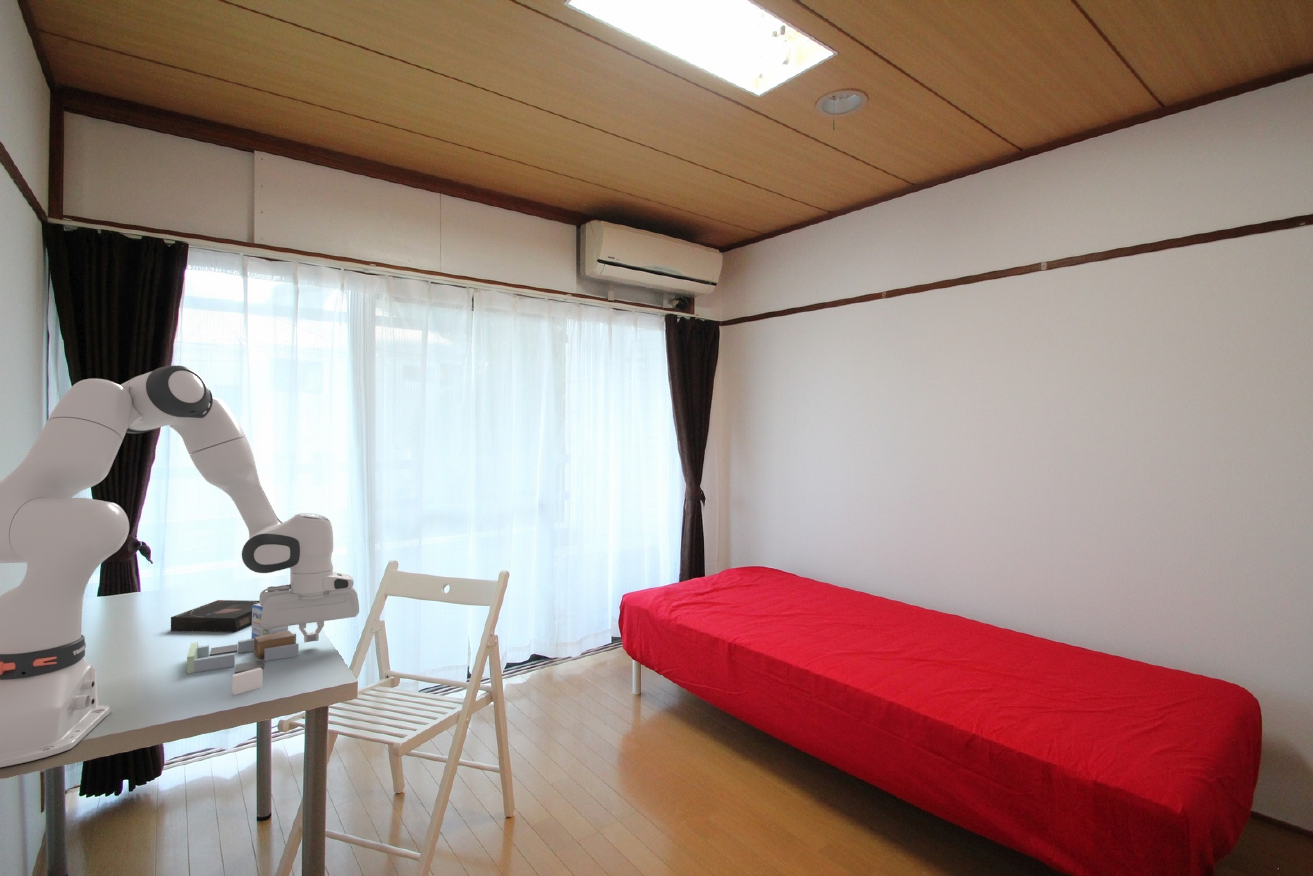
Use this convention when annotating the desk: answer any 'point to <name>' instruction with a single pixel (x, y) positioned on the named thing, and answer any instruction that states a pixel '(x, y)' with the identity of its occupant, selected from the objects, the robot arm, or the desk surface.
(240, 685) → the eraser
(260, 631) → the medicine box
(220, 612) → the portable cd player
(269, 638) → the walnut block
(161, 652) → the desk surface
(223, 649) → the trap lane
